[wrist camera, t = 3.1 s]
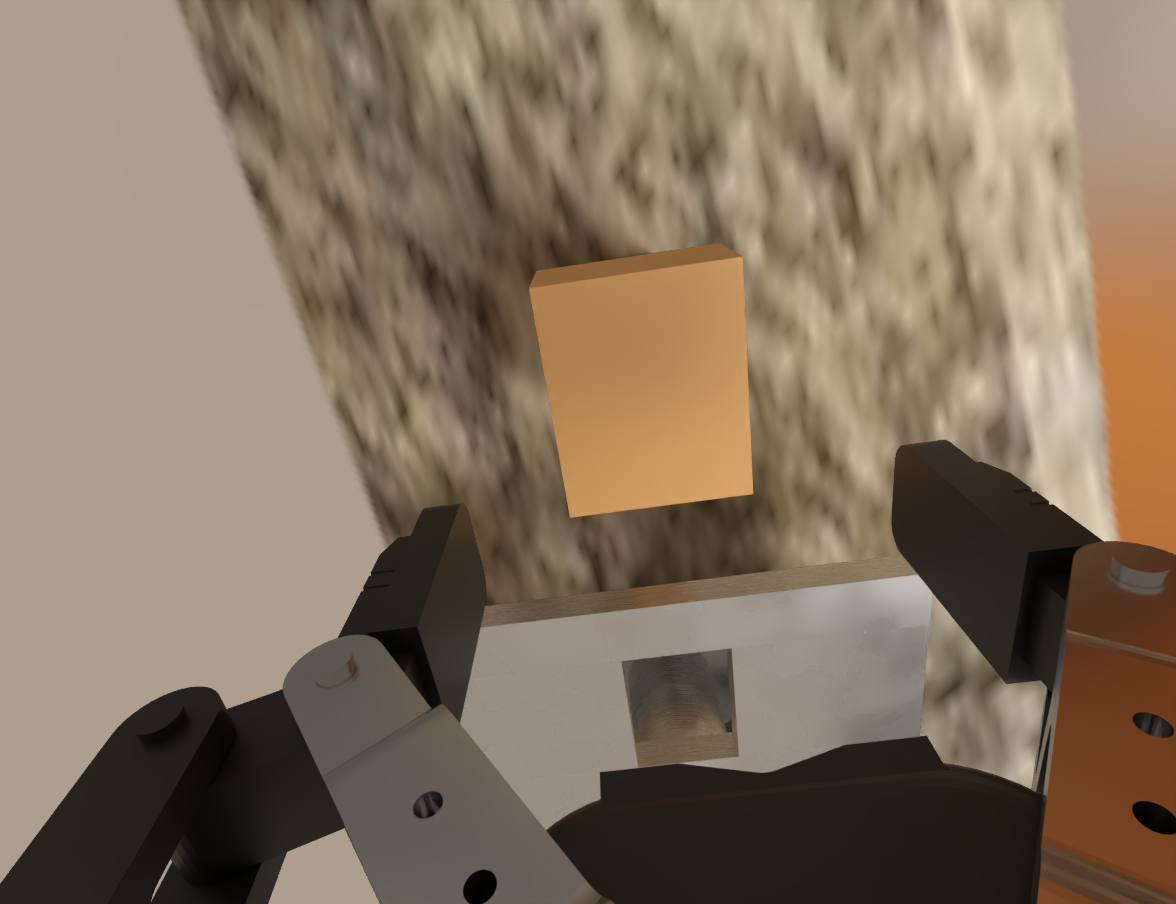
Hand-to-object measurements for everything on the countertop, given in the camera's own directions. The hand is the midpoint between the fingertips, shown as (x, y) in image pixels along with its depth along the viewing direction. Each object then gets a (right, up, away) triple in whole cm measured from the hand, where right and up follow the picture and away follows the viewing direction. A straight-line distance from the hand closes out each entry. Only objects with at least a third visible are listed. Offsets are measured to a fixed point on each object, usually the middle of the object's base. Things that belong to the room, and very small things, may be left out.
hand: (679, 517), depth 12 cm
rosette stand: (+2, -9, +24) cm, 26 cm away
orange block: (0, +8, +17) cm, 19 cm away
